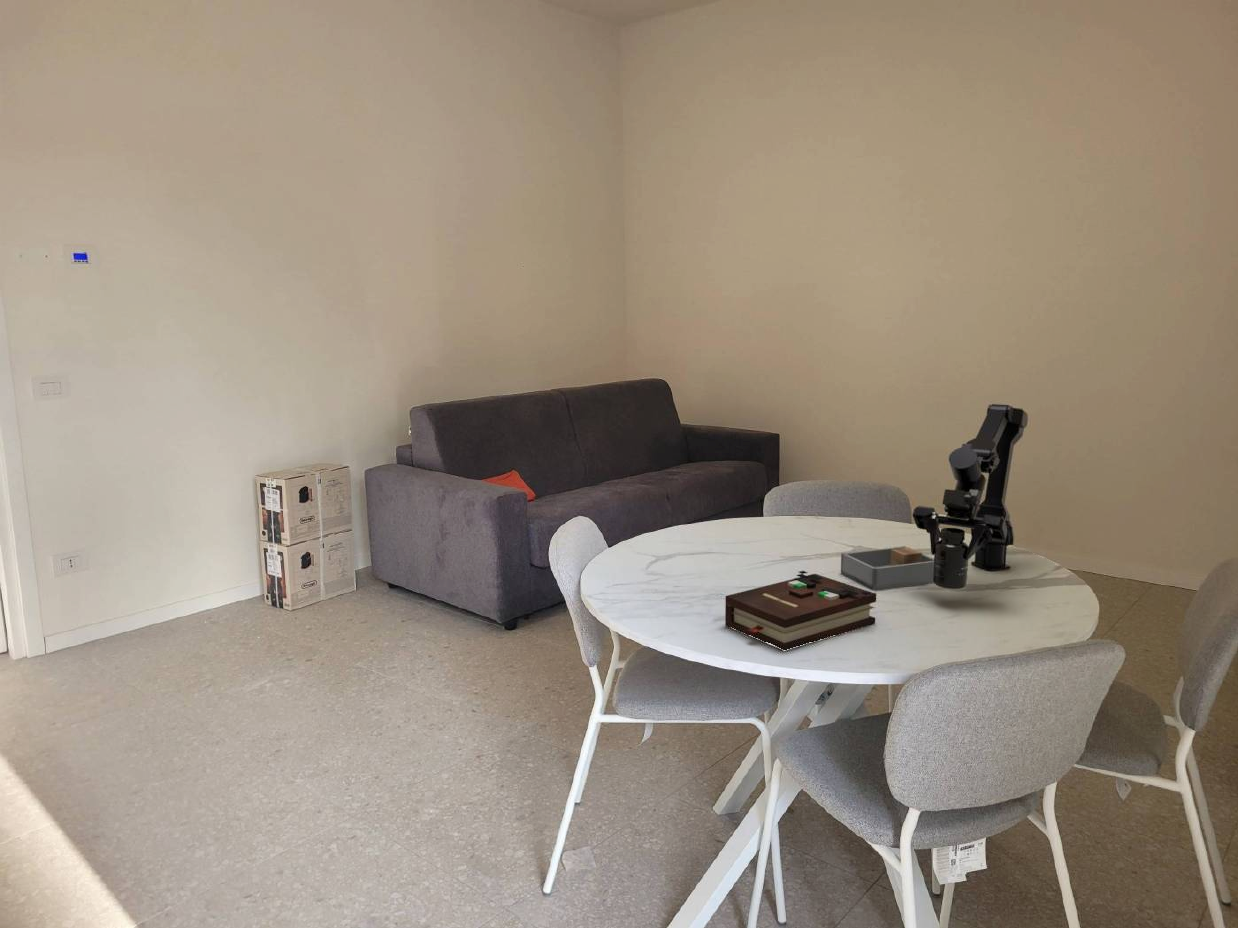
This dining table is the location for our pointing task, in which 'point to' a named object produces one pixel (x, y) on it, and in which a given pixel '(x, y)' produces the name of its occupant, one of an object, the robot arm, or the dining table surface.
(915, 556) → the walnut cube
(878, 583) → the tote
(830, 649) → the dining table surface
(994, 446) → the robot arm
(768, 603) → the decorative book
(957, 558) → the supplement bottle
